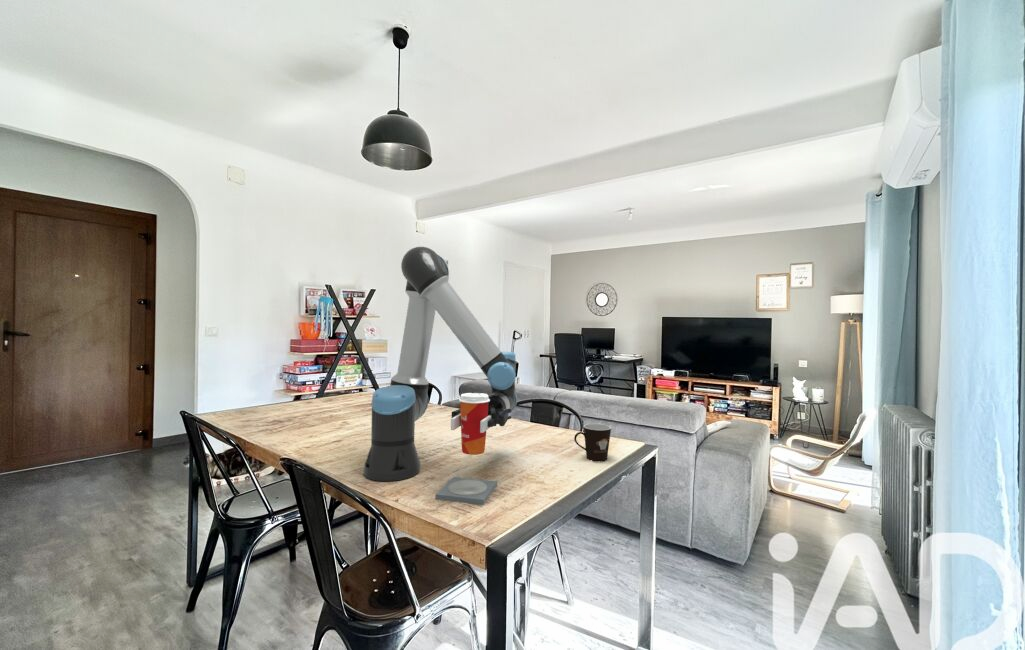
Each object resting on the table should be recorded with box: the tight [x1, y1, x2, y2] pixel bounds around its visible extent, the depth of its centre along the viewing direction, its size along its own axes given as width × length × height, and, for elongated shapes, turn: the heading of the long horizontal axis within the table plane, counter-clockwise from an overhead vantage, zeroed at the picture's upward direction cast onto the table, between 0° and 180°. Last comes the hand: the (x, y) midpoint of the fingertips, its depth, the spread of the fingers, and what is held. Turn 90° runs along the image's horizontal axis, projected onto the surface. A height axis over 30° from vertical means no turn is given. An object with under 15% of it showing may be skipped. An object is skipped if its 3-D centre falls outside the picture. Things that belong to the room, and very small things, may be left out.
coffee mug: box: [573, 423, 612, 462], centre depth 132 cm, size 12×9×10 cm
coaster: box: [434, 476, 498, 506], centre depth 103 cm, size 12×12×1 cm
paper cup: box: [458, 392, 490, 456], centre depth 103 cm, size 8×8×14 cm
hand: (467, 425), depth 98 cm, fingers closed on paper cup, 7 cm apart
